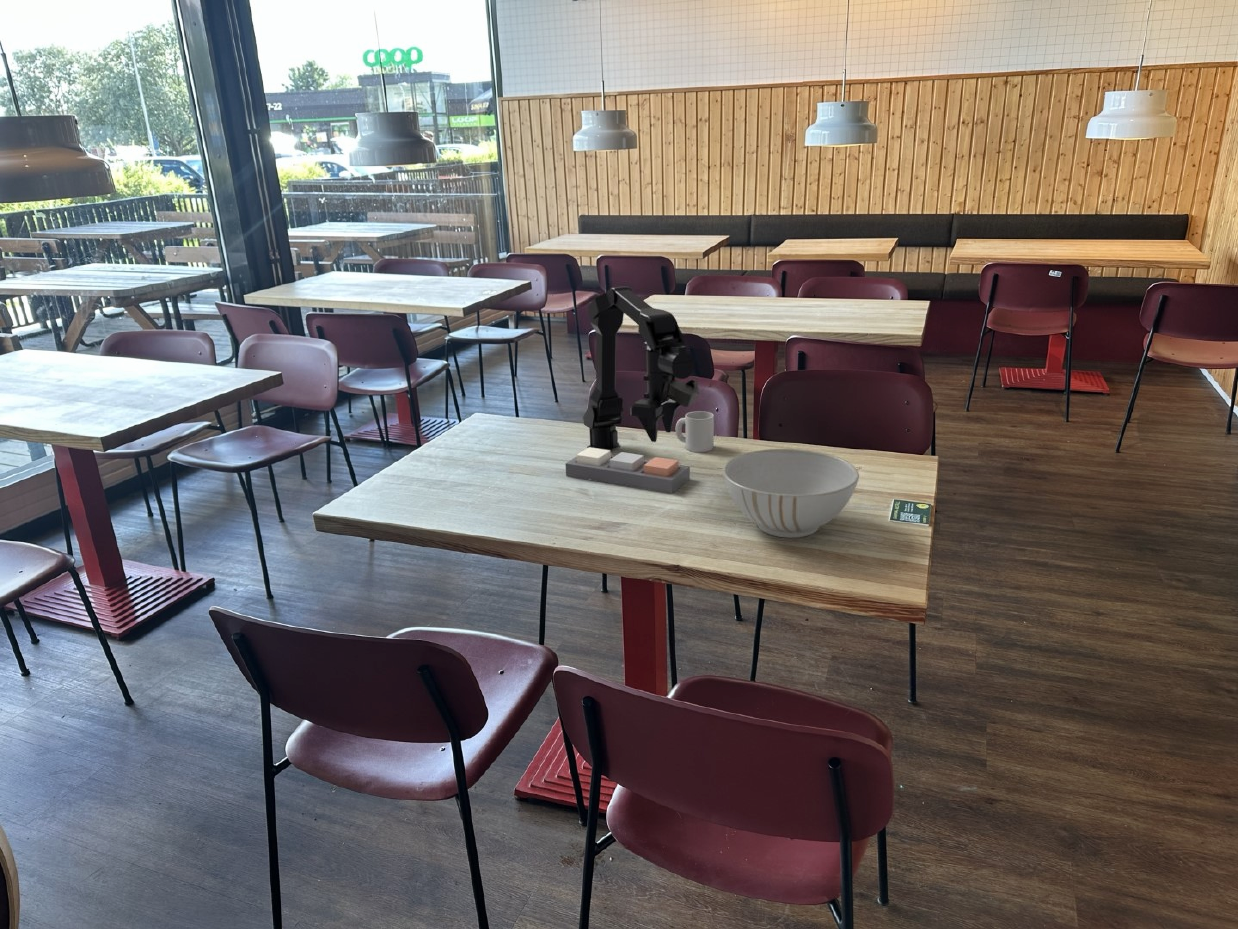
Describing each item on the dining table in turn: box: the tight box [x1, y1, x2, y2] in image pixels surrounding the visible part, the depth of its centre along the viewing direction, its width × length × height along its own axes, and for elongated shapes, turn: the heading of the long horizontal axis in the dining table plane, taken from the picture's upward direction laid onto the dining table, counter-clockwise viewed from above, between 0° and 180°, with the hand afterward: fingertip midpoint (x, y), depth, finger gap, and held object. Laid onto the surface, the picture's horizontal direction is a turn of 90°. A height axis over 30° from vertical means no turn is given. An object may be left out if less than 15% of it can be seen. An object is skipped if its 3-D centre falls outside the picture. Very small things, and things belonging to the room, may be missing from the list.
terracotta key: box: [644, 456, 679, 477], centre depth 203 cm, size 6×6×2 cm
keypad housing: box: [565, 453, 691, 495], centre depth 207 cm, size 28×10×3 cm, turn 62°
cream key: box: [576, 447, 612, 466], centre depth 211 cm, size 6×6×2 cm
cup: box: [675, 410, 715, 453], centre depth 225 cm, size 7×10×9 cm
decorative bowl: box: [722, 448, 860, 539], centre depth 177 cm, size 27×27×12 cm
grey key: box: [609, 451, 645, 472], centre depth 207 cm, size 6×6×2 cm
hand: (661, 436), depth 200 cm, fingers open, 7 cm apart
